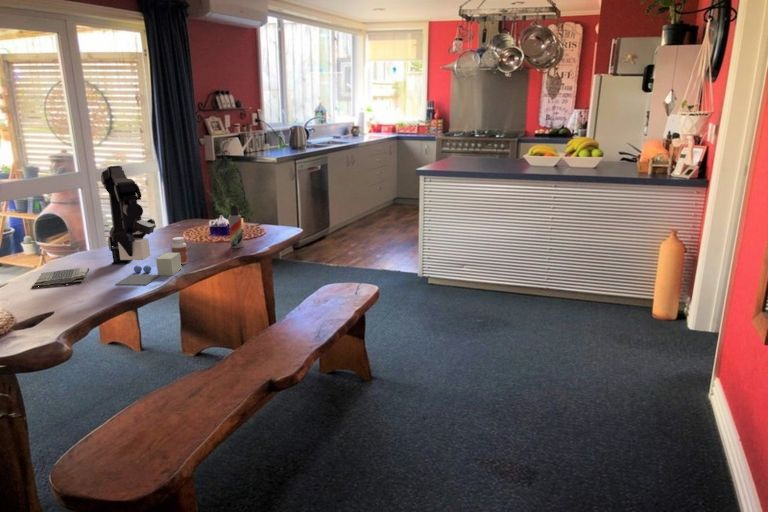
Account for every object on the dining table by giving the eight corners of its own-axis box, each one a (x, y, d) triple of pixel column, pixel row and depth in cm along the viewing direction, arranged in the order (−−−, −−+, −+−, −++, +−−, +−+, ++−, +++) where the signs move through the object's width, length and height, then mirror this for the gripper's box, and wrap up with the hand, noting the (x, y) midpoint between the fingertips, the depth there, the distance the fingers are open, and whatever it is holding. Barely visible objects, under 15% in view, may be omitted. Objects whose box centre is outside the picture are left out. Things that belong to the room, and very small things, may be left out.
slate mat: (115, 285, 214) (115, 284, 214) (131, 275, 225) (130, 274, 225) (146, 285, 213) (146, 284, 213) (160, 275, 225) (160, 274, 224)
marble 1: (132, 273, 228) (131, 266, 227) (136, 271, 231) (135, 264, 230) (140, 273, 227) (139, 266, 227) (143, 271, 230) (142, 264, 230)
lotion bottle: (231, 248, 264) (227, 206, 259) (230, 245, 270) (227, 204, 264) (243, 247, 266) (240, 206, 260) (243, 244, 271) (239, 204, 266)
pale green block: (172, 275, 225) (170, 258, 223) (158, 275, 225) (156, 258, 223) (181, 268, 233) (180, 252, 231) (167, 268, 234) (165, 252, 232)
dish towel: (41, 276, 226) (39, 269, 226) (90, 271, 232) (89, 264, 232) (31, 290, 210) (29, 282, 209) (84, 285, 216) (83, 277, 215)
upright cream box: (120, 259, 214) (117, 242, 212) (128, 255, 220) (125, 238, 218) (143, 260, 214) (140, 242, 212) (150, 255, 219) (148, 238, 217)
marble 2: (142, 273, 227) (141, 266, 227) (145, 271, 230) (145, 264, 229) (149, 273, 227) (148, 266, 226) (153, 271, 230) (152, 264, 229)
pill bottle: (190, 263, 241) (187, 238, 238) (175, 265, 238) (172, 240, 235) (186, 260, 246) (183, 235, 243) (171, 262, 243) (168, 237, 240)
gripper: (138, 219, 203) (143, 261, 207) (161, 209, 220) (165, 247, 225) (108, 219, 203) (114, 260, 207) (133, 209, 221) (138, 247, 225)
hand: (134, 254), depth 216 cm, fingers closed on upright cream box, 6 cm apart
